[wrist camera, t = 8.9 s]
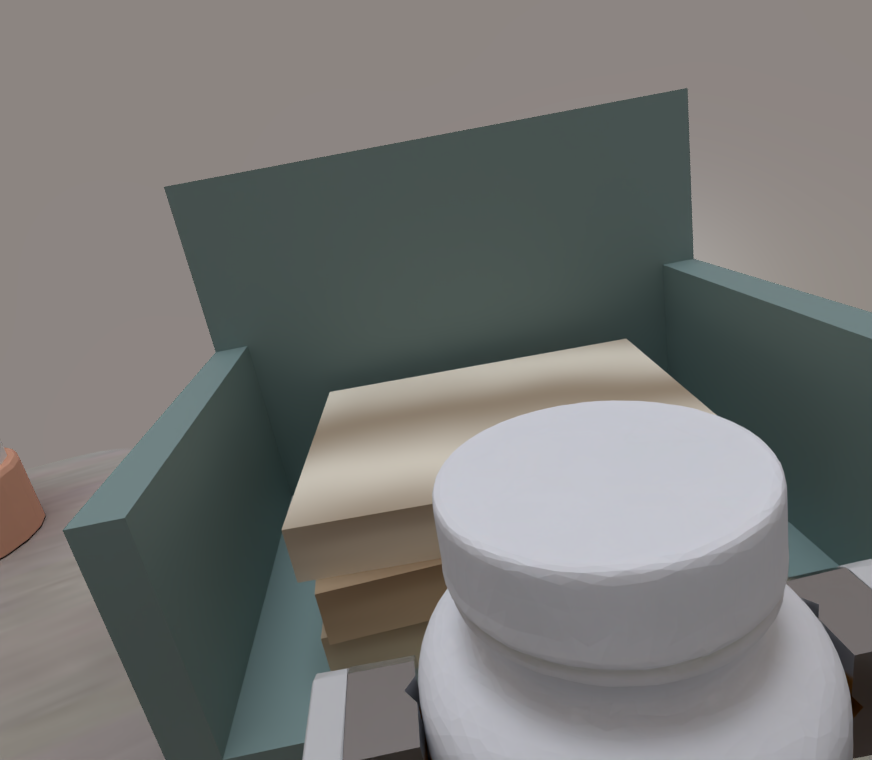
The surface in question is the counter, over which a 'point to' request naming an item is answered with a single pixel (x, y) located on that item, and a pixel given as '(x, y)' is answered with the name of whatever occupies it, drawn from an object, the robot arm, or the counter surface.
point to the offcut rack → (425, 354)
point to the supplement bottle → (623, 597)
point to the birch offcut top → (433, 448)
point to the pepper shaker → (16, 503)
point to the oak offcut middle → (379, 599)
